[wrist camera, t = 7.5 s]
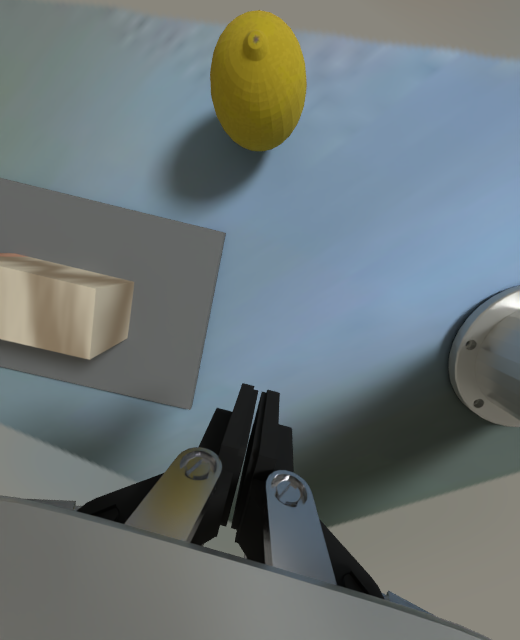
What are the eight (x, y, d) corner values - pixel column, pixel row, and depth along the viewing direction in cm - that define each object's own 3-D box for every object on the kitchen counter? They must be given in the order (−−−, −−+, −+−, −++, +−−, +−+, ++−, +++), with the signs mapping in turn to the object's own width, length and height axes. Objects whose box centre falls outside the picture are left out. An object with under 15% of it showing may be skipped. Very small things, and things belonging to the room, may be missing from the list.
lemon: (259, 183, 20) (254, 138, 13) (208, 125, 20) (168, 38, 12) (313, 126, 19) (344, 38, 12) (261, 62, 19) (257, -78, 11)
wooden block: (96, 288, 17) (-60, 252, 17) (89, 359, 18) (-57, 326, 18) (134, 281, 22) (14, 253, 22) (127, 338, 23) (13, 311, 23)
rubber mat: (225, 233, 21) (224, 232, 21) (191, 406, 25) (190, 409, 24) (-22, 173, 21) (-30, 170, 20) (-19, 358, 25) (-26, 360, 24)
